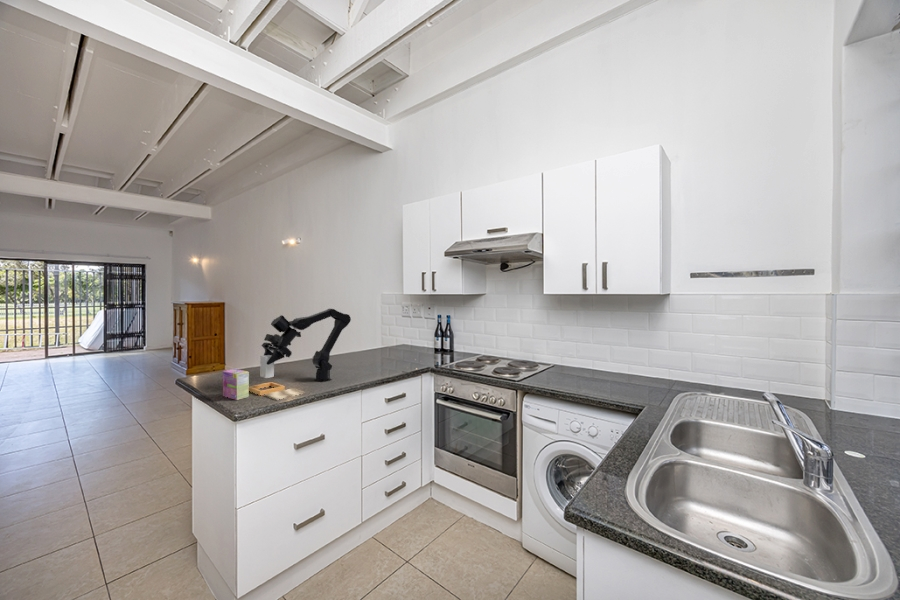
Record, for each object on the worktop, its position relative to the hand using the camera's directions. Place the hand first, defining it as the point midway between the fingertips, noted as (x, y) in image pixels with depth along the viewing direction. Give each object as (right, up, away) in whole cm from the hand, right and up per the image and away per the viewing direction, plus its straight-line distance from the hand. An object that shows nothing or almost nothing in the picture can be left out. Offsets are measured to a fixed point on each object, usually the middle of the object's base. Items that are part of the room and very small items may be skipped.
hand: (264, 363), depth 175 cm
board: (+12, -14, -4) cm, 19 cm away
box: (-8, -14, -10) cm, 19 cm away
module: (+1, -7, +1) cm, 7 cm away
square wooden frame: (0, -13, +2) cm, 14 cm away
